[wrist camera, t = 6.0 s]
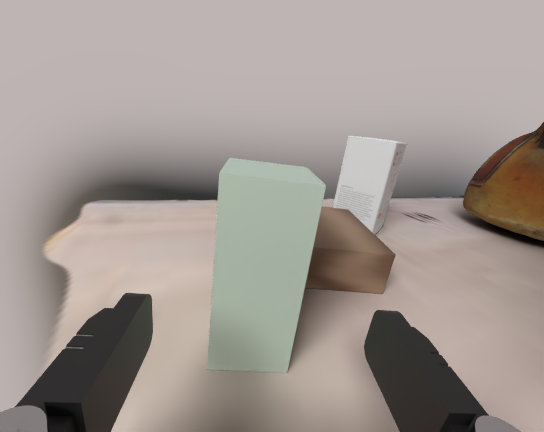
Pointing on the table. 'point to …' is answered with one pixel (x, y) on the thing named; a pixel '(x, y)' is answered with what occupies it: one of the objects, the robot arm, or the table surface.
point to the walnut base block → (347, 255)
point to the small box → (368, 178)
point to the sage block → (261, 263)
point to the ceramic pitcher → (511, 187)
